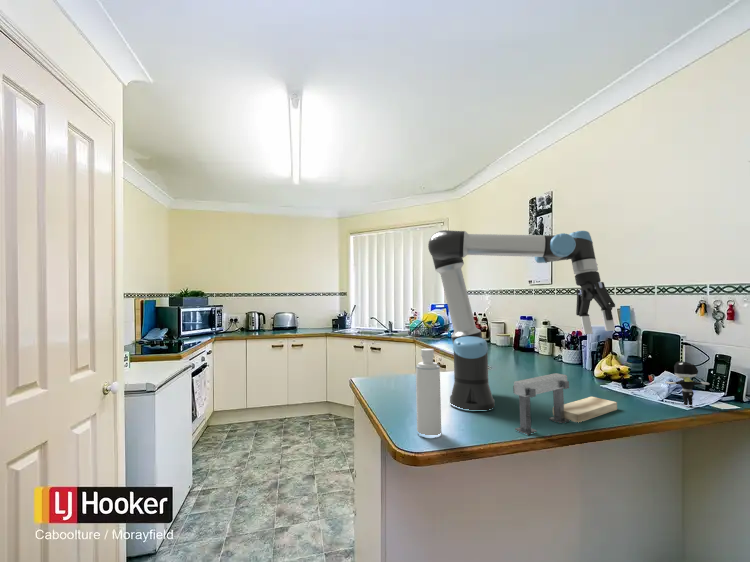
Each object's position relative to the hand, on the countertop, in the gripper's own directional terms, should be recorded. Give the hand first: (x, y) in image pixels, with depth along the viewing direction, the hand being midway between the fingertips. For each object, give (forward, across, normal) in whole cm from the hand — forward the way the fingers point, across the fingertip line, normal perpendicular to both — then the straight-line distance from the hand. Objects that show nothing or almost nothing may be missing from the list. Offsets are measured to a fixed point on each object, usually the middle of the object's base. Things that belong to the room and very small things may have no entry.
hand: (598, 332), depth 117 cm
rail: (+16, -16, +28) cm, 36 cm away
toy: (+26, +6, -27) cm, 38 cm away
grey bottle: (+26, -22, +62) cm, 71 cm away
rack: (+27, -14, +29) cm, 42 cm away
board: (+25, -1, +10) cm, 27 cm away
